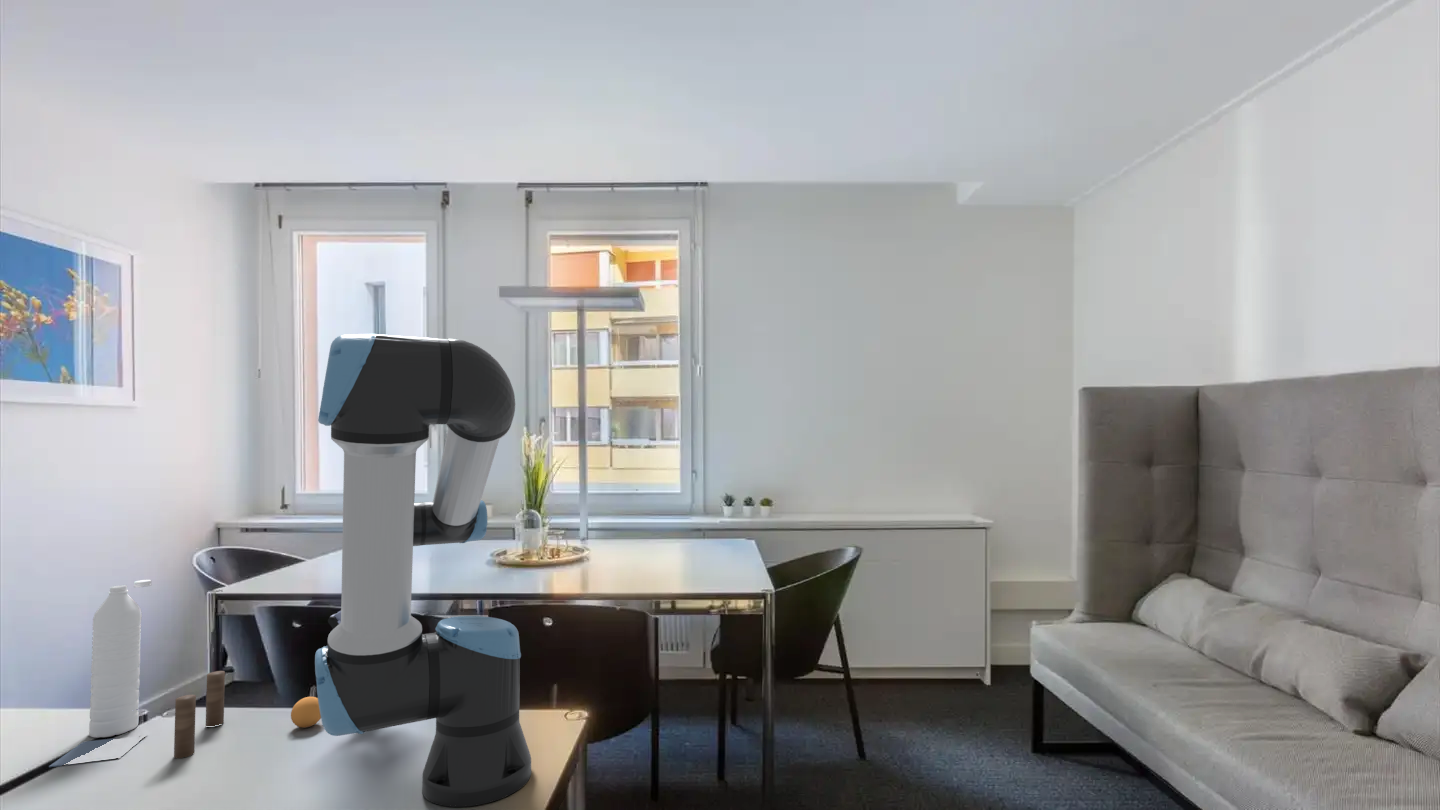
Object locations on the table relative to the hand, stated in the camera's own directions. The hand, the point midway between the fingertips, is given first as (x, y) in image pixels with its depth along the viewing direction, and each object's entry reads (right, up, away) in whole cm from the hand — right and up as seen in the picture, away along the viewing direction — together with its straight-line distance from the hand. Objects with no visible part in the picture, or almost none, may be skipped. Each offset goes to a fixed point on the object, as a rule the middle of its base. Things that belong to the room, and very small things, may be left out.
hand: (367, 706), depth 124 cm
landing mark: (-37, -2, -12) cm, 39 cm away
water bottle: (-42, -3, -3) cm, 42 cm away
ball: (-9, 0, -3) cm, 10 cm away
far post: (-26, -3, -2) cm, 26 cm away
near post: (-22, -2, -14) cm, 26 cm away
